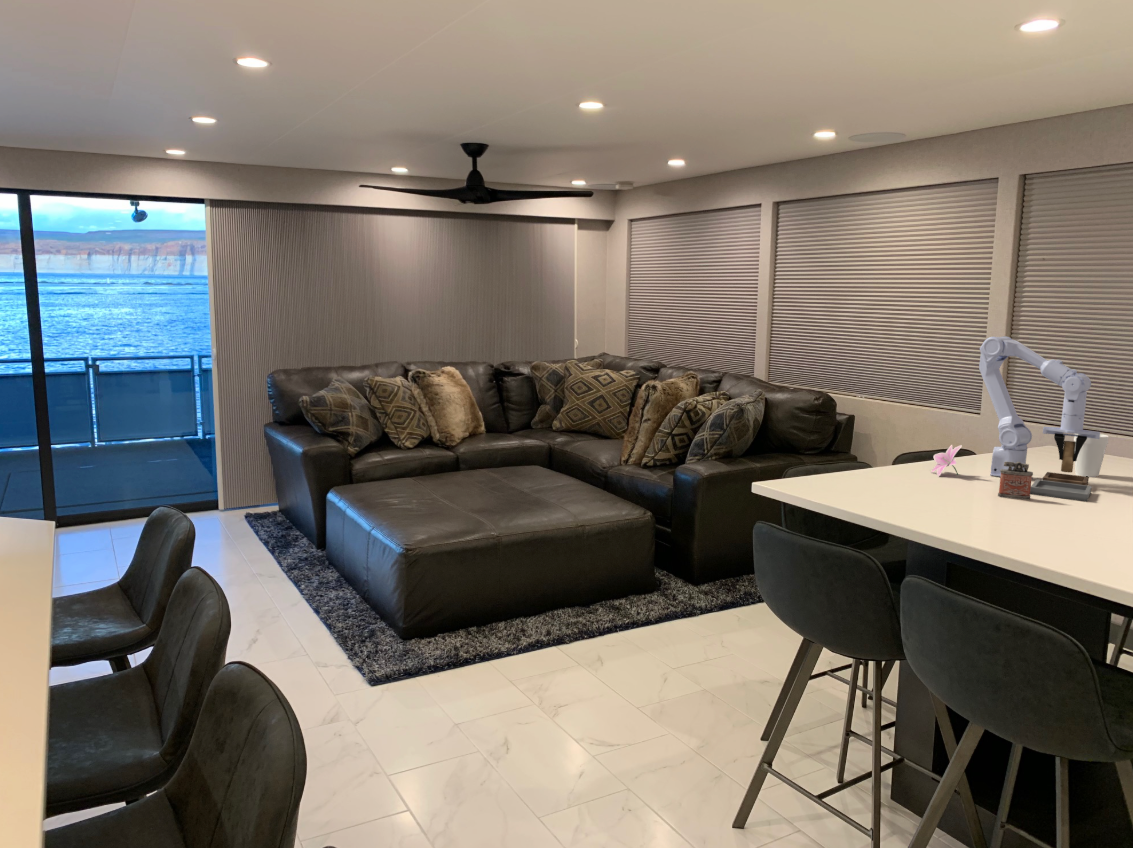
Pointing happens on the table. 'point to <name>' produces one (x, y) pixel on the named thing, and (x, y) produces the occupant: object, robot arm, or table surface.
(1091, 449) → the foam cup
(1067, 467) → the pin
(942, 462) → the lily
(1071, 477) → the holder
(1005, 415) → the robot arm
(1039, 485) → the tray
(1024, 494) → the lighter
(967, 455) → the table surface
